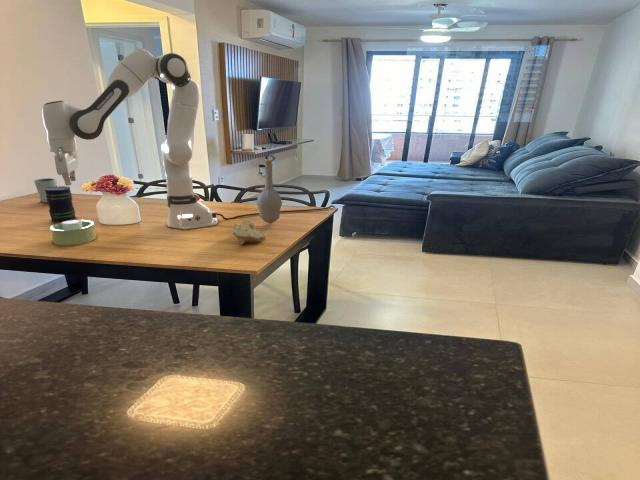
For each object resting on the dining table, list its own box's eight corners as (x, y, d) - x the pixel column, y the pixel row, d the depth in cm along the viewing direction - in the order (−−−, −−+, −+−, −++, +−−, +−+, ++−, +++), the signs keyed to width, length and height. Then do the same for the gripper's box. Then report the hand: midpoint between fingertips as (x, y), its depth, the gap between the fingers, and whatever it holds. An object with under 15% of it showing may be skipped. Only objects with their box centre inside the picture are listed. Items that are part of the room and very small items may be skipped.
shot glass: (75, 241, 149) (72, 224, 147) (60, 240, 151) (56, 223, 148) (88, 236, 156) (85, 220, 154) (74, 235, 157) (71, 218, 155)
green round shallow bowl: (98, 232, 162) (95, 219, 160) (93, 243, 150) (90, 228, 148) (57, 236, 157) (55, 222, 155) (49, 247, 144) (46, 232, 142)
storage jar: (56, 223, 173) (49, 191, 168) (47, 219, 179) (40, 188, 174) (79, 219, 181) (73, 188, 176) (71, 215, 186) (65, 185, 182)
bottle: (275, 228, 174) (274, 162, 164) (253, 225, 177) (251, 160, 168) (285, 222, 184) (285, 159, 174) (264, 219, 187) (262, 157, 178)
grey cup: (59, 201, 213) (55, 180, 209) (37, 203, 208) (32, 181, 204) (60, 198, 221) (56, 177, 217) (39, 199, 216) (34, 178, 212)
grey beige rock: (256, 239, 164) (227, 220, 158) (267, 229, 161) (238, 209, 155) (253, 262, 152) (222, 242, 145) (265, 251, 149) (233, 230, 142)
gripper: (67, 148, 136) (75, 187, 140) (77, 143, 154) (84, 178, 158) (46, 149, 133) (55, 188, 138) (59, 144, 151) (66, 179, 156)
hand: (71, 182), depth 148 cm, fingers open, 8 cm apart
